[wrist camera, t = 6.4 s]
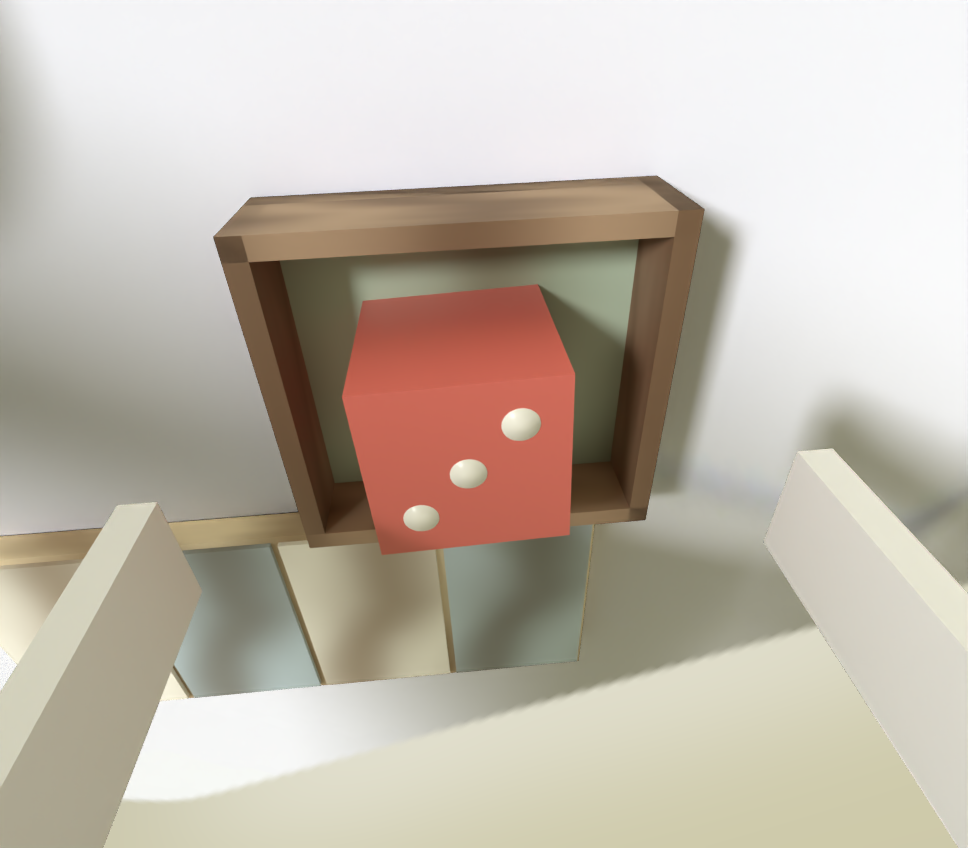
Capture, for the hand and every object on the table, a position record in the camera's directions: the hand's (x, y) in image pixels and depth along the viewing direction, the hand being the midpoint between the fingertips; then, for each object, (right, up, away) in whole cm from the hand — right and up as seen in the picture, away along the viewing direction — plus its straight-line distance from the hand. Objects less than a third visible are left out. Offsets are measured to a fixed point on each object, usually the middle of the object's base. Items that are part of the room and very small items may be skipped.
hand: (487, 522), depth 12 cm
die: (-1, +4, +5) cm, 7 cm away
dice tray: (-1, +4, +6) cm, 8 cm away
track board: (-8, -5, +13) cm, 16 cm away
